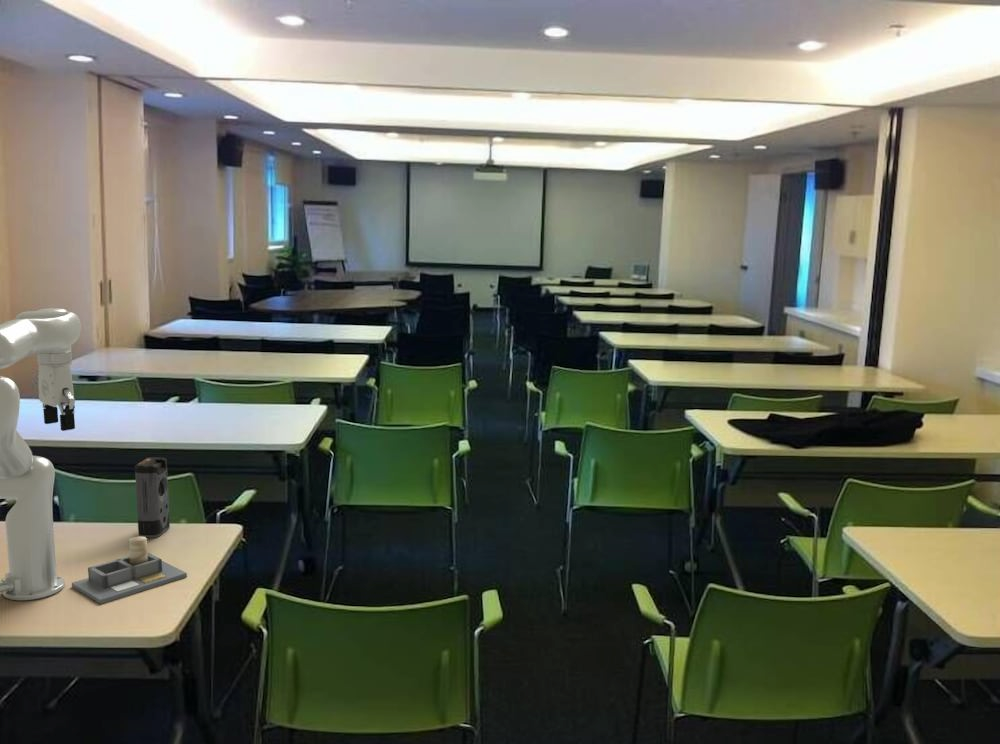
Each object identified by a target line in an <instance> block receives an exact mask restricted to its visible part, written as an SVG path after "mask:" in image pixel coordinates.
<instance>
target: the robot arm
mask: <svg viewBox="0 0 1000 744" xmlns="http://www.w3.org/2000/svg"><path fill="white" fill-rule="evenodd" d="M81 333H82V323H81V320H80V317H79V316H78V315H77V314H76V313H75V312H71V311H68V310H67V309H65V308H59V307H56V308H55V307H54V308H53V307H52V308H51V307H49V308H48V307H47V308H40V309H38V310H36V311H34V310H32V311H31V310H30V311H29V310H27V311H23V312H20V313H19V314H17V315H16V316H15V318H14V319H11V320H7V321H5V322H3V323H1V324H0V370H1V369H6V368H8V367H11V366H12V365H14V364H16V363H17V362H20V361H21V360H23V359H25V358H27V357H31V356H37V365H38V400H39V401H40V402H41V403H42V408H43V410H42V411H43V422H44V424H45V425H50V424H57V423H59V422H60V424H59V425H60V431H63V432H65V431H72V430H74V429H76V424H75V422H76V421H75V413H76V412H75V408H76V406H75V405H76V404H75V403H76V402H75V401H76V399H75V395H74V384H73V383H74V382H73V376H72V369H71V365H72V364H73V358H72V357H73V353H72V345H74V344H75V343H76V342H77V341H78V339H80V336H81ZM20 401H21V397H20V389H19V387H18V385H17V384H16V383H15V381H14V380H12V379H10V378H9V377H6V376H3V375H0V500H2V499H4V500H5V499H6V500H15V501H16V502H15V503H14V505H13V506H12V507H11V508H10V510H9V511H8V512H7V514H6V517H5V521H4V522H5V523H4V524H5V530H6V532H5V535H6V547H7V558H8V559H7V560H8V570H9V571H8V572H6V573H4V578H1V579H0V593H2V595H3V597H5V598H6V599H9V600H13V601H31V600H32V601H34V600H39V599H42V598H47V597H49V596H52V595H54V594H56V593H58V592H60V591H61V590H63V588H65V586H66V584H65V583H66V582H65V579H64V578H63V577H62V576H60V575H57V574H58V573H57V557H56V545H55V543H56V542H55V529H54V528H55V527H54V517H53V515H54V513H53V495H54V494H53V492H54V485H55V475H56V473H55V467H54V464H53V463H52V462H51V460H49V459H48V458H46V457H43V456H39V455H33V451H32V450H31V448H30V446H29V445H28V443H27V442H26V441H25V439H24V438H23V437H22V436H21V435H20V433H19V431H18V430H17V427H18V422H19V421H18V420H19V415H20V405H21V404H20ZM58 409H59V411H58ZM58 412H60V413H61V414H59V413H58Z"/></svg>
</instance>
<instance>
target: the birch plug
mask: <svg viewBox="0 0 1000 744" xmlns="http://www.w3.org/2000/svg"><path fill="white" fill-rule="evenodd" d="M128 550H129V553H128V556H130V565H132V566H135V565H138V564H142V563H145V562H148V555H147V552H148V538H146V537H140V536H133V537H131V538H129V539H128Z"/></svg>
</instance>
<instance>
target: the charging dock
mask: <svg viewBox="0 0 1000 744" xmlns="http://www.w3.org/2000/svg"><path fill="white" fill-rule="evenodd" d="M147 555H148V562H145V563H142V564H138V565H135V566H132V565H130V556H129V555H127V556H125V557H121V558H119V559H118V558H117V559H115V560H111V561H107V562H104V563H99V564H97V565H93V566H90V567H89V566H88V567H87V573H88V577H87V578H83V579H80V580H76V581H74V582H71V587H72V588H74V590H76V591H78V592H79V593H81V592H82V593H81V594H83V595H85V596H87V597H88V598H90V599H92V600H93V601H94V600H95V601H94V602H96V603H98V604H99V603H100V605H102V603H103V604H105V603H108V602H112V601H115V600H117V599H121V598H124V597H127V596H131V595H133V594H137V593H141V592H143V591H147V590H149V589H153V588H156V587H158V586H162V585H165V584H169V583H172V582H174V581H178V580H181V579H185V578H187V577H188V575H187V573H188V572H186V571H185V570H184V571H183V569H182V570H181V569H179V568H178V567H175V566H173V565H171V564H169V563H168V562H166V561H164V560H162V559H161V558H160V557H158V556H155V555H153V554H151V553H150V552H148V551H147Z"/></svg>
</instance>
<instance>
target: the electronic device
mask: <svg viewBox="0 0 1000 744" xmlns="http://www.w3.org/2000/svg"><path fill="white" fill-rule="evenodd" d="M167 462H168V460H167V458H165V457H158V456H157V457H156V456H155V457H153V456H152V457H146V458H145V459H143V460H142V461H139V463H137V464H136V465H135V466H134V475H135V492H136V493H135V494H136V496H135V497H136V510H137V511H136V513H137V532H138V537H149V538H153V537H155V538H158V536H159V537H160V536H161V535H162V534H164V533H165V532H166V531H168V529H169V528H170V526H171V525H170V523H171V522H170V508H169V505H170V503H169V502H170V501H169V485H168V481H169V479H168V463H167ZM153 539H154V538H153Z"/></svg>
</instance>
